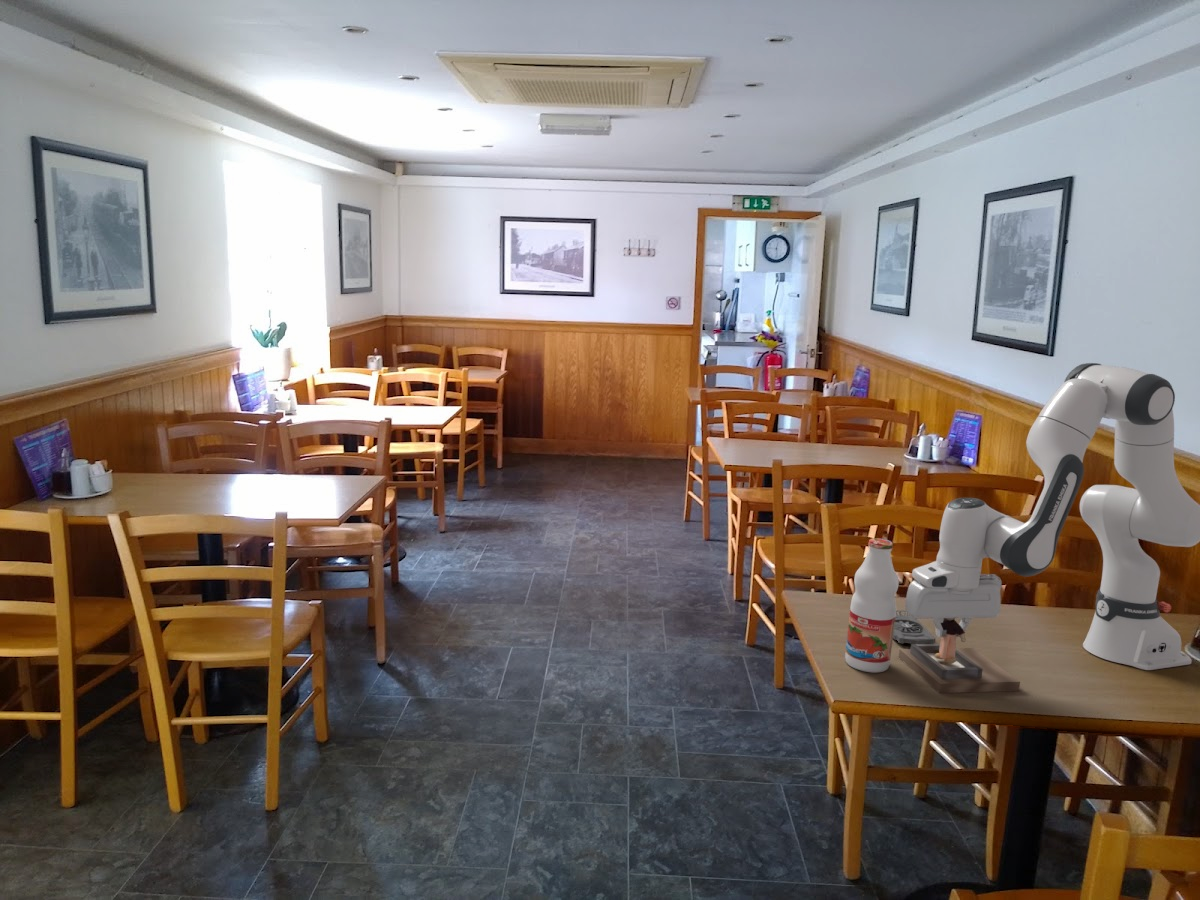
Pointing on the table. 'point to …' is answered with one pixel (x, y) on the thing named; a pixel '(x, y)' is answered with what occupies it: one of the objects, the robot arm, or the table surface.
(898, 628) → the graphics card
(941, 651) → the grandmother figurine
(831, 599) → the table surface
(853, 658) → the fruit juice
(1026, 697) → the table surface
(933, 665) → the display stand
